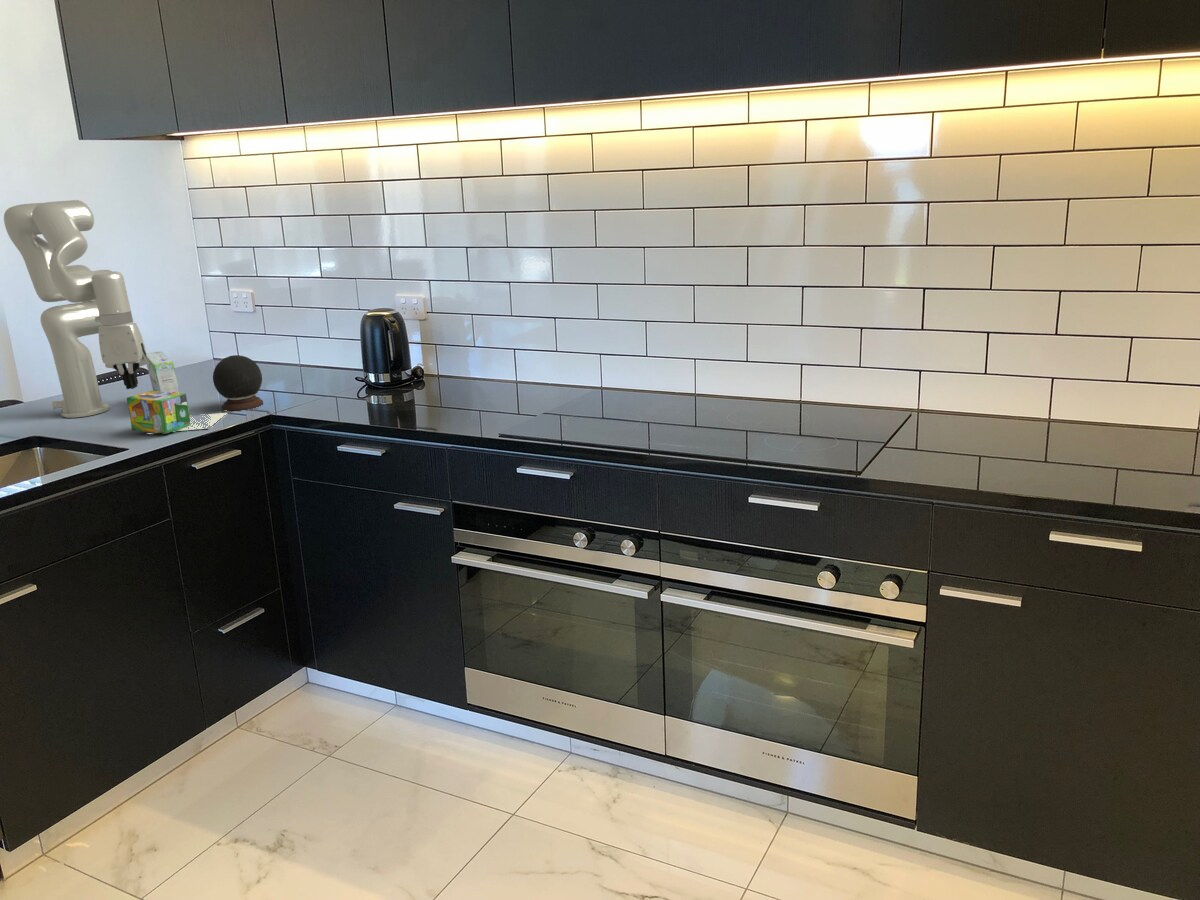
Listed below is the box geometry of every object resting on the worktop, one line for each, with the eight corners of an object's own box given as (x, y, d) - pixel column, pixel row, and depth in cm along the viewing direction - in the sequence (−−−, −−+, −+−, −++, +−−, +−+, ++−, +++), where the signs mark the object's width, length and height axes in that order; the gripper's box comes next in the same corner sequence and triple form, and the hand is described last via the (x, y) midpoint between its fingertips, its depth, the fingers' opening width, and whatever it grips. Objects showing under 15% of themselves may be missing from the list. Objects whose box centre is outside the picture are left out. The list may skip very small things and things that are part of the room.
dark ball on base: (266, 398, 275) (257, 348, 270) (267, 408, 263) (258, 356, 258) (219, 404, 270) (209, 354, 266) (218, 415, 259) (208, 362, 254)
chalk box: (125, 397, 240) (170, 401, 235) (152, 389, 249) (196, 393, 244) (131, 431, 243) (175, 435, 238) (157, 422, 251) (201, 426, 246)
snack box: (153, 401, 280) (143, 353, 276) (173, 398, 283) (163, 350, 278) (164, 415, 263) (153, 363, 258) (185, 411, 266) (174, 360, 261)
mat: (146, 434, 243) (146, 433, 243) (169, 418, 258) (169, 417, 258) (208, 429, 244) (208, 428, 243) (227, 414, 259) (227, 412, 259)
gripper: (80, 324, 237) (97, 393, 243) (139, 319, 238) (154, 388, 243) (94, 319, 244) (109, 386, 250) (151, 315, 245) (165, 382, 251)
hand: (132, 387), depth 247 cm, fingers closed
